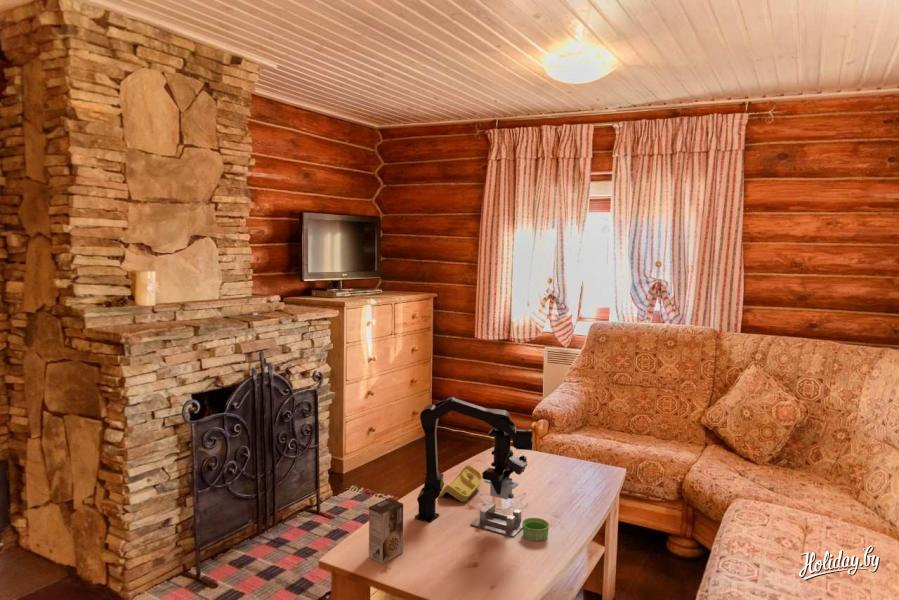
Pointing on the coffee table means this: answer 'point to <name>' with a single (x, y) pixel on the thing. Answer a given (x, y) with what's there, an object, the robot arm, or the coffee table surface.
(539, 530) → the ramekin
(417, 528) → the coffee table surface
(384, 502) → the coffee box
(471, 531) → the coffee table surface
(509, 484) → the servo
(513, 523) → the chassis
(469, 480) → the plastic component
